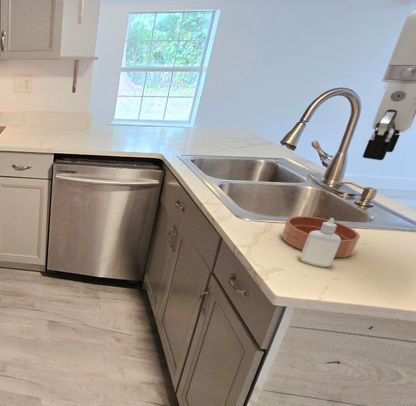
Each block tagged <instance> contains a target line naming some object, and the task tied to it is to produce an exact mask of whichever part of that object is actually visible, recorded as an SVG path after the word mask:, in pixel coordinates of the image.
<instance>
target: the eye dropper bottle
mask: <svg viewBox="0 0 416 406" xmlns="http://www.w3.org/2000/svg"><path fill="white" fill-rule="evenodd" d="M328 220H329V221H328V222H323V224H322V227H321V229H320V230H317V231H311V232H310V233H309V235H308V238H307V240H306V243H305V245H304V248H303V250H301V253H300V257H299V258H300V261H301V262H303V263H306V264H308V265H311V266H316V267H321V268H330V267H331V266H332V264H333V261H334V259H335V258H336V257H335V255H336V252H337V250H338V247H339V245H340V242H341V238H340V237H339V236H338V235H336V234H334V232H335V230H336V227H337V225H336V224H334V222H335V218H333V217H330V218H329V219H328Z"/></svg>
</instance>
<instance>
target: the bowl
mask: <svg viewBox="0 0 416 406" xmlns="http://www.w3.org/2000/svg"><path fill="white" fill-rule="evenodd" d="M328 221H329V219H326V218H321V217H317V216H306V215H296V216H295V215H294V216H290V217H288V218H287V219H286V222H285V224H284V228H283V230H282V233H281V239H283V240H284V241H285V242H286V243H287V244H289V245H290V246H292V247H294V248H296V249H299V250H301V251H303V248H304V245H305V243H306V240H307V238H308V235H309V233H310V232H311V231H317V230H320V229H321V227H322V224H323V222H328ZM334 224H336V225H337V227H336V230H335V232H334V234H336V235H338V236H339V237H340V238H341V242H340V245H339V247H338V250H337V252H336V255H335V257H334V258H345V257H346V258H347V257H350V256H352V254H354V251H355V250H356V247H357V245H358V242H359V240H360V238H361V235H360V233H359V232H357V231H356V230H355V229H353V228H351V227H350V226H348V225H345V224H342V223H339V222H337V221H334Z"/></svg>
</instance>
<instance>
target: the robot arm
mask: <svg viewBox="0 0 416 406" xmlns="http://www.w3.org/2000/svg"><path fill="white" fill-rule="evenodd" d="M400 30H401V31H400V33H399V36H398V38H397V41H396V43H395V47H394V49H393V51H392V54H391V56H390V59H389V61H388V65H387V67H386V69H385V72H384V74H383V77H382V79H381V82H382V83H383V82H384V83H388V84H387V86H386V89H385V91H384V93H383V96H382V99H381V101H380V104H379V106H378V109H377V111H376V114H375V117H374V120H373V123H372V129H373V130H374V131H373V133H372V134H371V136H370V138H369V139H368V141H367V144H366V147H365V149H364V151H363V154H362V158H364V159H369V160H377V161H383V160H384V159H385V157H386V155H387V153H392V152H394V150H395V148H396V145H397V143H398V141H399V139H400V136H401V135H400V133H404V132H406V131H407V130H409V129H410V128H411V127H412V125H413V122H414V120H415V117H416V9H414V10H413V11H411V12H410V13H408V15H407V16H406V18H405V20H404V23H403V25H402V28H401V29H400Z"/></svg>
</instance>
